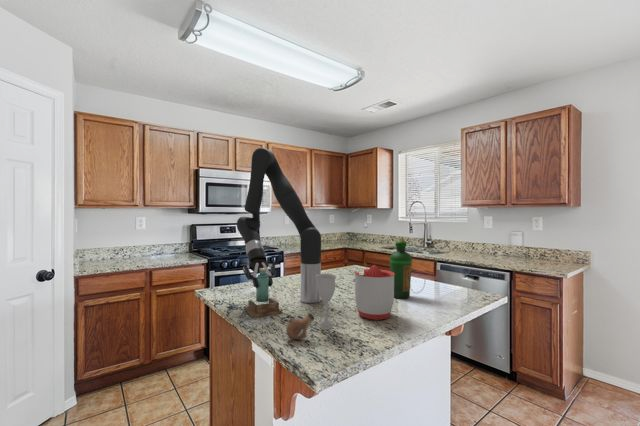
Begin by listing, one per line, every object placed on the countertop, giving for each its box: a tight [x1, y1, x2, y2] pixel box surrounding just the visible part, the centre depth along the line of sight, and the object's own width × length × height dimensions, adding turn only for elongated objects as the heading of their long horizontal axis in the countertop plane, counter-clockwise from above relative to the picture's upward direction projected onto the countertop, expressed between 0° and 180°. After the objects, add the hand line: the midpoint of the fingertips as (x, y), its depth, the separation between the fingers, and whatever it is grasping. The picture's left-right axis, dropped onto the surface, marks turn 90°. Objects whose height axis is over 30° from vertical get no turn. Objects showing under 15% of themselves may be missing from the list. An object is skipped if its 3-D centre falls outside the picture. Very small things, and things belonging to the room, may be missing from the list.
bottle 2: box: [389, 237, 413, 300], centre depth 151 cm, size 11×11×28 cm
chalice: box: [316, 273, 337, 330], centre depth 111 cm, size 7×7×18 cm
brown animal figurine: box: [285, 312, 315, 341], centre depth 100 cm, size 9×4×8 cm, turn 103°
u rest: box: [243, 297, 283, 319], centre depth 128 cm, size 12×12×4 cm
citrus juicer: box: [352, 264, 395, 321], centre depth 124 cm, size 16×17×20 cm
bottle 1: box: [255, 268, 270, 303], centre depth 128 cm, size 5×5×13 cm
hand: (264, 286), depth 126 cm, fingers closed on bottle 1, 5 cm apart
